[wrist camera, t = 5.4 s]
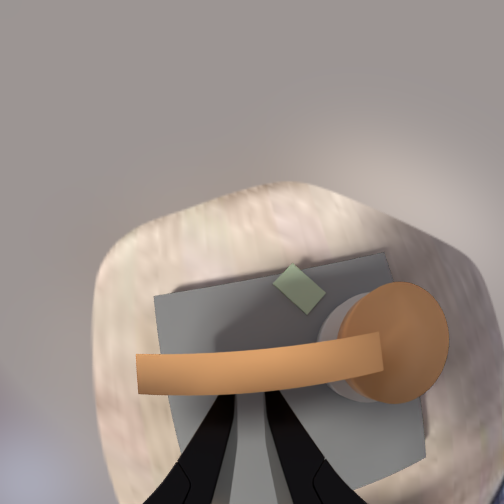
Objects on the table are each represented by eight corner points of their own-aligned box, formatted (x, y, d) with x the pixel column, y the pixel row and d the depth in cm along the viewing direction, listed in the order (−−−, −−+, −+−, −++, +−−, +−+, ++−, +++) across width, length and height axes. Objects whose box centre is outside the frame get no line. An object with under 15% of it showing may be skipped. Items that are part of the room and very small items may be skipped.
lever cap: (411, 289, 13) (472, 253, 8) (424, 382, 11) (493, 382, 6) (178, 315, 13) (135, 288, 8) (186, 421, 11) (146, 455, 6)
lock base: (205, 507, 11) (193, 539, 8) (161, 294, 16) (135, 275, 13) (414, 452, 12) (448, 466, 8) (372, 254, 17) (400, 227, 14)
